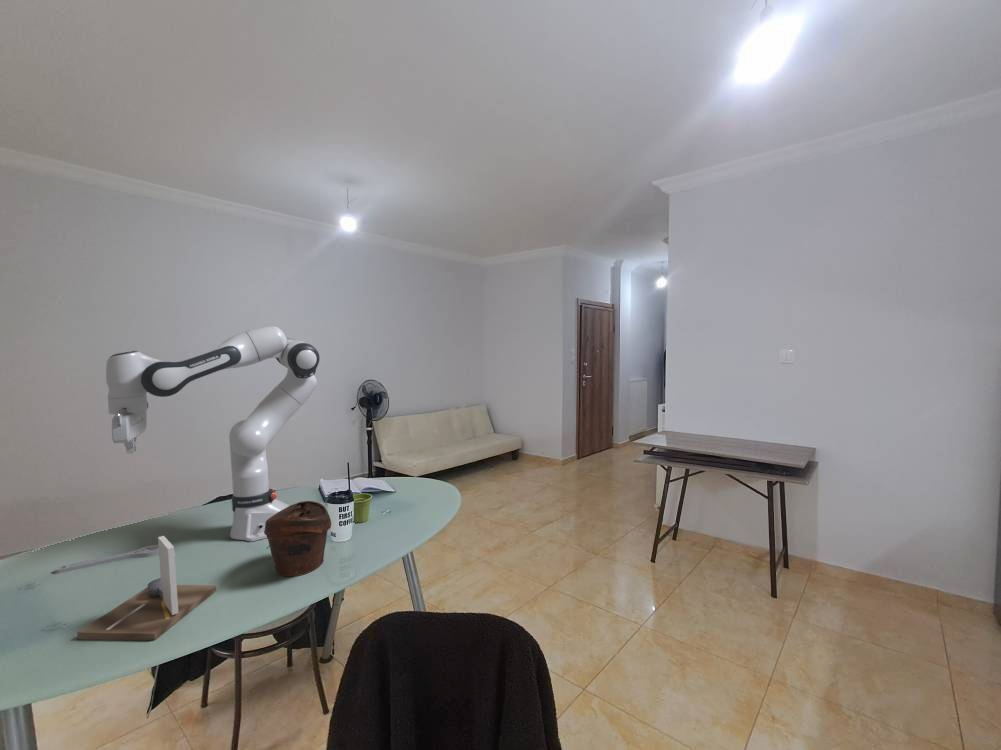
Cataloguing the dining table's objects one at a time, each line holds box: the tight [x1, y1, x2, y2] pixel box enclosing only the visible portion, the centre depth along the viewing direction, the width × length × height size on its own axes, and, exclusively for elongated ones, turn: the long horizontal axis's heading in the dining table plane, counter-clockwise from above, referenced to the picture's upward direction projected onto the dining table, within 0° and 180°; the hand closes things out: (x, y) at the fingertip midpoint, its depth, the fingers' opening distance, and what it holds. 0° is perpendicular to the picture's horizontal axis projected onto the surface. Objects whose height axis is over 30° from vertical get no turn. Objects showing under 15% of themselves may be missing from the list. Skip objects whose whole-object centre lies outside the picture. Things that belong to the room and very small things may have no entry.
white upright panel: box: [147, 535, 178, 615], centre depth 111 cm, size 18×5×16 cm, turn 48°
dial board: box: [76, 584, 217, 641], centre depth 109 cm, size 20×18×2 cm
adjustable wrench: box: [54, 544, 159, 574], centre depth 138 cm, size 25×6×2 cm, turn 118°
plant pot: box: [352, 492, 373, 524], centre depth 166 cm, size 9×9×9 cm
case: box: [264, 500, 332, 577], centre depth 132 cm, size 18×20×18 cm
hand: (131, 452), depth 133 cm, fingers closed
